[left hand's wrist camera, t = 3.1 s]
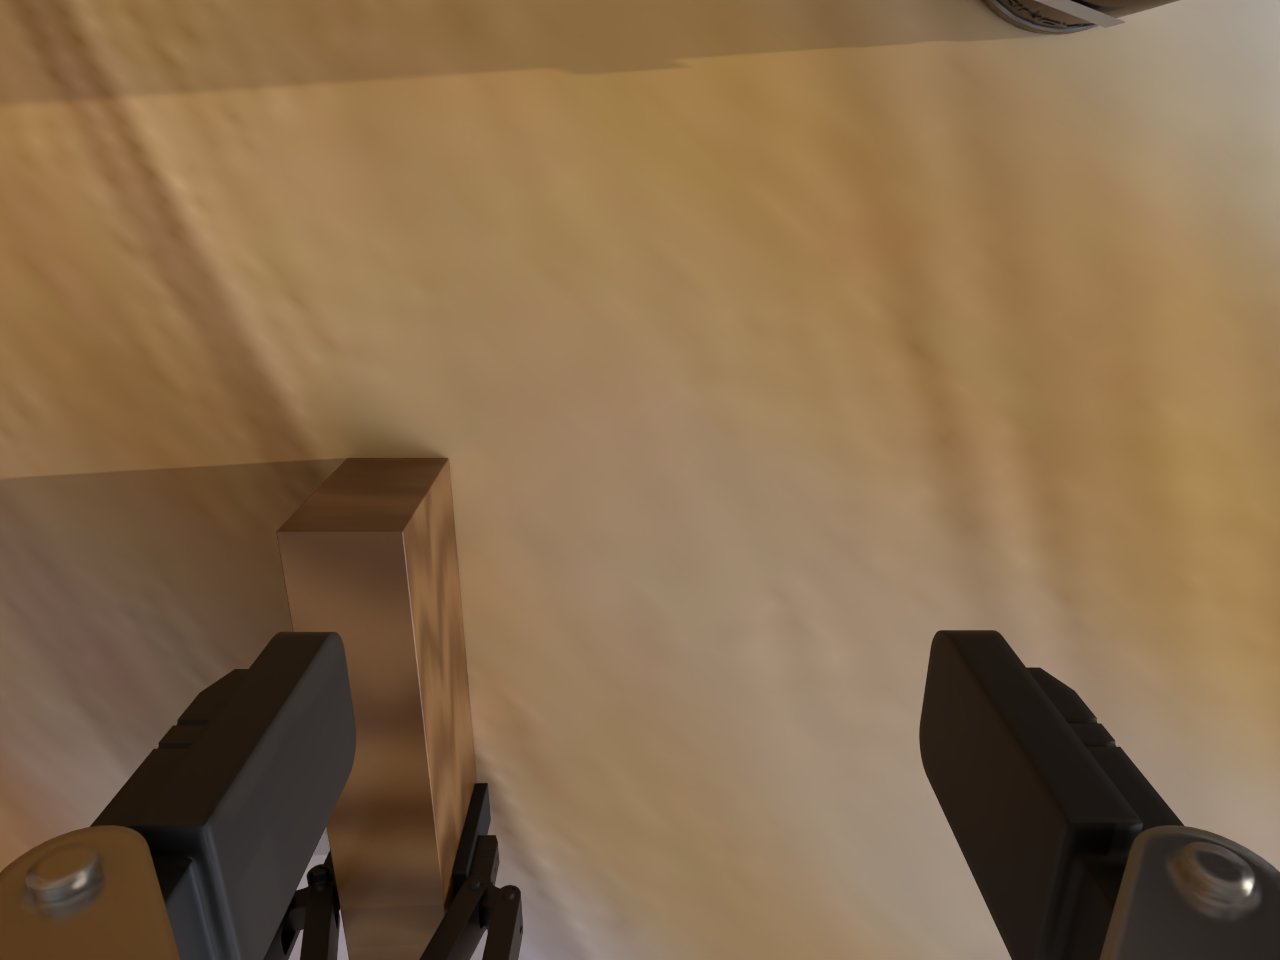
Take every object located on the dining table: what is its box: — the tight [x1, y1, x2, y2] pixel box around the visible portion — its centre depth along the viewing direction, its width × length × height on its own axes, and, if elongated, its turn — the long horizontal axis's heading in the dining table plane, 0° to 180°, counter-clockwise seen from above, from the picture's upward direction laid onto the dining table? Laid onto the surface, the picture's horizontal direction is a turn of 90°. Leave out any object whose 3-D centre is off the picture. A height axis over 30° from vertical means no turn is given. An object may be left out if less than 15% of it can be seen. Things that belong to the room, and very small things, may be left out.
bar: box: [277, 458, 477, 960], centre depth 43 cm, size 25×5×9 cm, turn 0°
